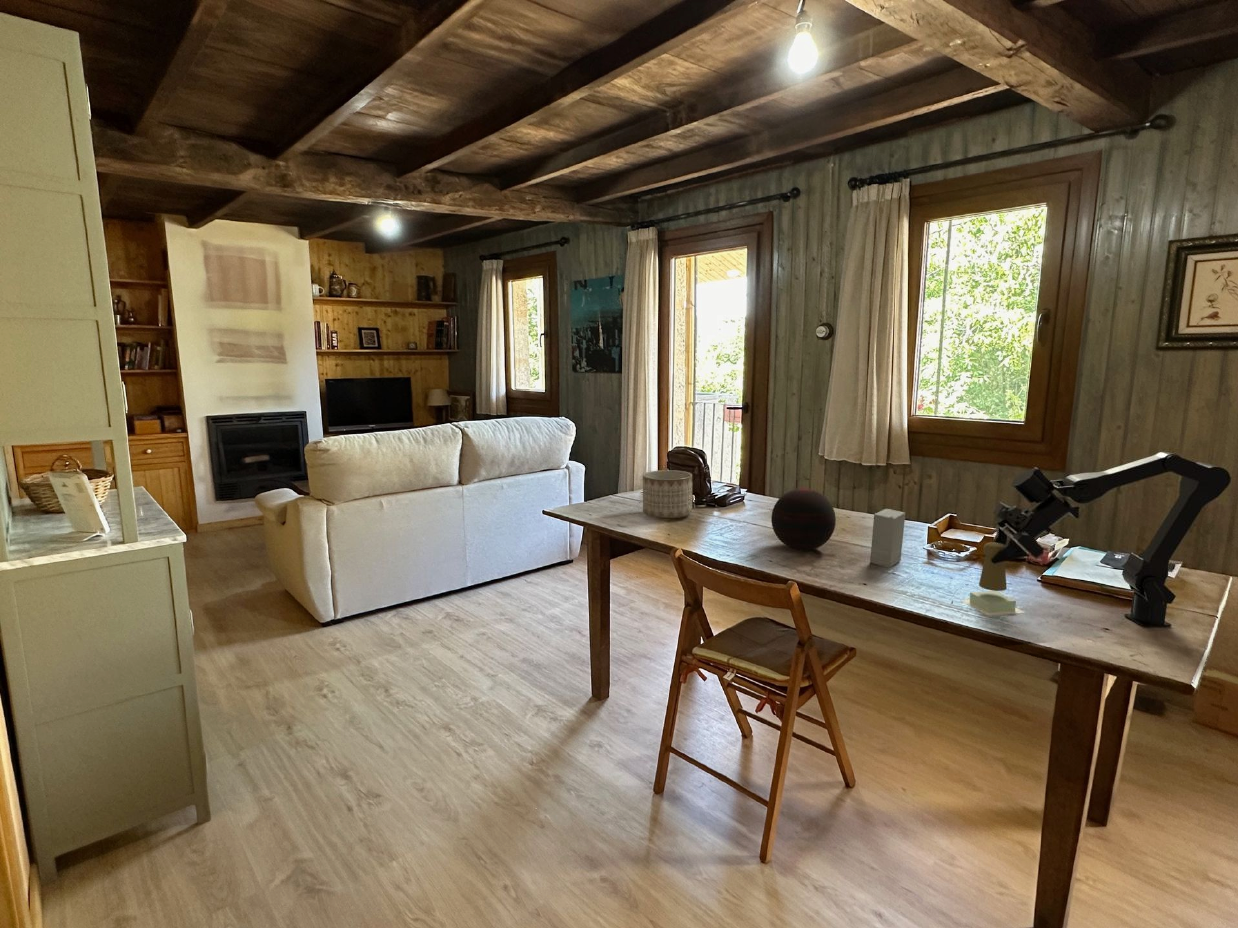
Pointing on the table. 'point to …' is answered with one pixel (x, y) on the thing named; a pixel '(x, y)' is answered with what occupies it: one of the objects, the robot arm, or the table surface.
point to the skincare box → (887, 537)
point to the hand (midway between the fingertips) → (988, 558)
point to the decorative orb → (803, 519)
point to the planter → (667, 494)
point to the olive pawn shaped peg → (993, 569)
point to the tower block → (992, 601)
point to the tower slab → (991, 612)
